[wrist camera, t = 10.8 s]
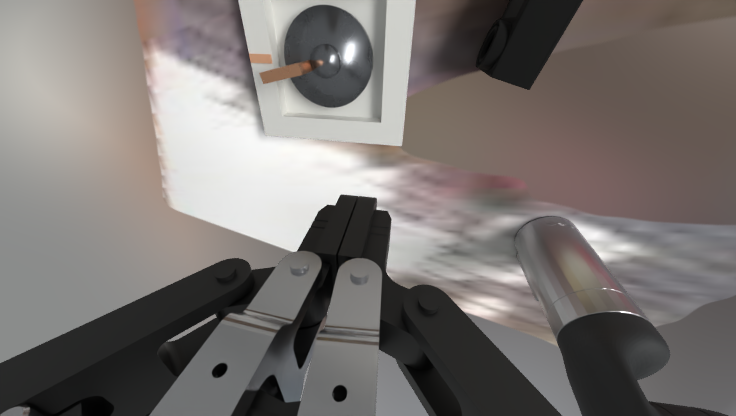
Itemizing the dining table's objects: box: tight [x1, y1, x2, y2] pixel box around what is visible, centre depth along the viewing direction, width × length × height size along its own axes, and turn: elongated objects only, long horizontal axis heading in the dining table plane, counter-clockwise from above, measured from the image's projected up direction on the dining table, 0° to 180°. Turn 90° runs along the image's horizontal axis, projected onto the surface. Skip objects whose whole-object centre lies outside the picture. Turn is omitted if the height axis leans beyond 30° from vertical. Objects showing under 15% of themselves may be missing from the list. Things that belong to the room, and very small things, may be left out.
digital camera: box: [476, 0, 583, 90], centre depth 27 cm, size 10×5×7 cm, turn 165°
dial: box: [259, 5, 373, 108], centre depth 32 cm, size 12×11×6 cm
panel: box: [238, 0, 416, 146], centre depth 33 cm, size 20×20×3 cm
